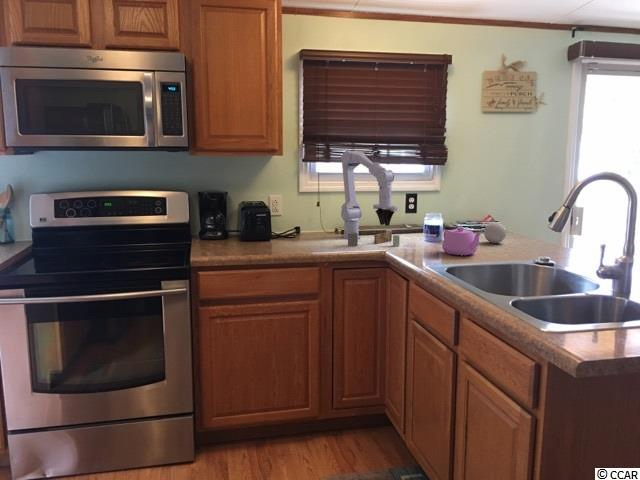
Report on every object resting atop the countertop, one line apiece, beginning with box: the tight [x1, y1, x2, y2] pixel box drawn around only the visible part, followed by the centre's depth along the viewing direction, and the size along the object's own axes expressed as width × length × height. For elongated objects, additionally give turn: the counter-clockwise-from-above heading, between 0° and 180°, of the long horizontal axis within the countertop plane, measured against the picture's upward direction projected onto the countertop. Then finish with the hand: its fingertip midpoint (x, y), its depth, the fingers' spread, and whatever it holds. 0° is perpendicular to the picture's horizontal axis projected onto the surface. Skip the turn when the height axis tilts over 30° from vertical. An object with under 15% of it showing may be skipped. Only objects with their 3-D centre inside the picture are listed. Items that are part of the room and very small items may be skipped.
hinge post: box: [385, 229, 393, 242], centre depth 253 cm, size 2×2×5 cm
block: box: [347, 232, 359, 247], centre depth 241 cm, size 4×4×6 cm
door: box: [373, 231, 392, 245], centre depth 248 cm, size 11×1×4 cm, turn 131°
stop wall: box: [392, 234, 400, 247], centre depth 239 cm, size 2×2×5 cm
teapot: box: [442, 226, 484, 256], centre depth 219 cm, size 20×13×12 cm, turn 39°
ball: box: [483, 221, 507, 244], centre depth 243 cm, size 10×10×10 cm
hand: (384, 225), depth 241 cm, fingers open, 3 cm apart
